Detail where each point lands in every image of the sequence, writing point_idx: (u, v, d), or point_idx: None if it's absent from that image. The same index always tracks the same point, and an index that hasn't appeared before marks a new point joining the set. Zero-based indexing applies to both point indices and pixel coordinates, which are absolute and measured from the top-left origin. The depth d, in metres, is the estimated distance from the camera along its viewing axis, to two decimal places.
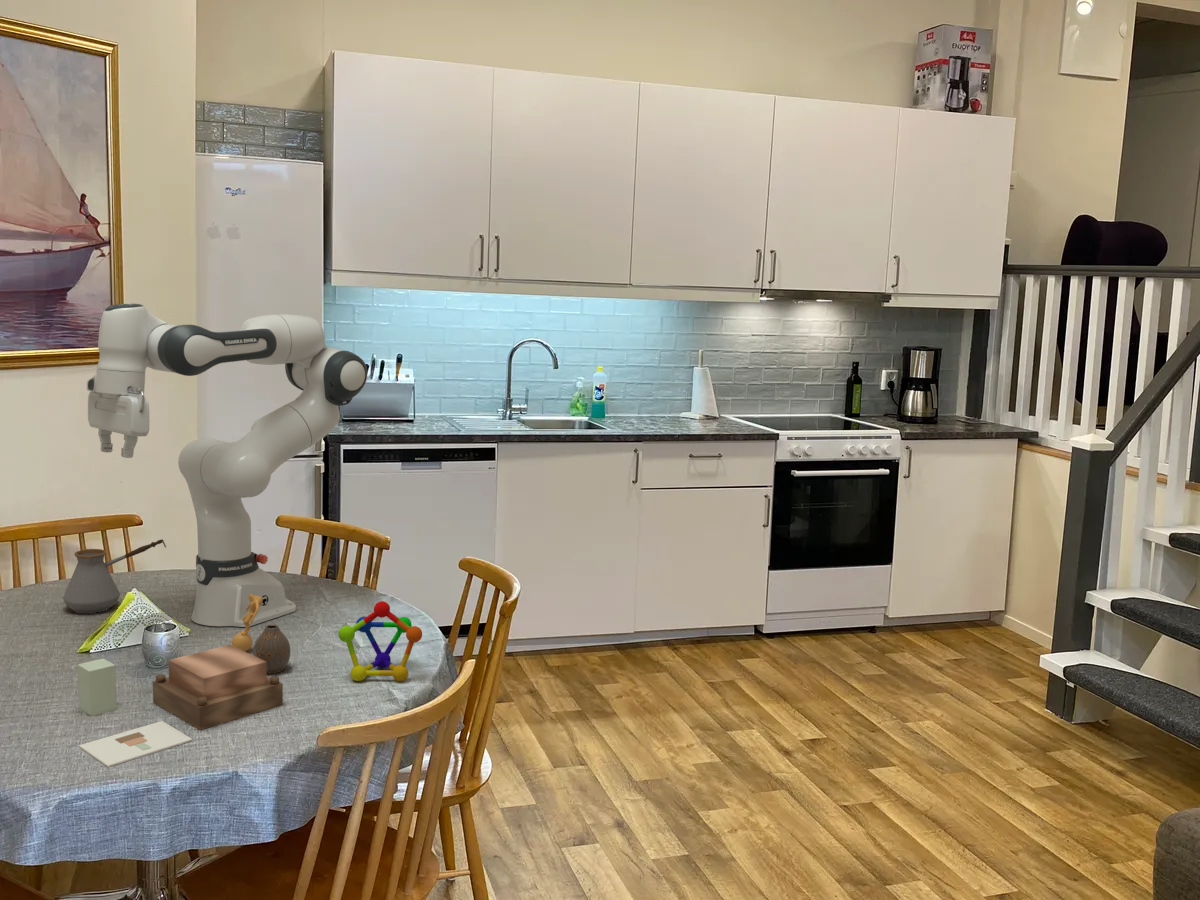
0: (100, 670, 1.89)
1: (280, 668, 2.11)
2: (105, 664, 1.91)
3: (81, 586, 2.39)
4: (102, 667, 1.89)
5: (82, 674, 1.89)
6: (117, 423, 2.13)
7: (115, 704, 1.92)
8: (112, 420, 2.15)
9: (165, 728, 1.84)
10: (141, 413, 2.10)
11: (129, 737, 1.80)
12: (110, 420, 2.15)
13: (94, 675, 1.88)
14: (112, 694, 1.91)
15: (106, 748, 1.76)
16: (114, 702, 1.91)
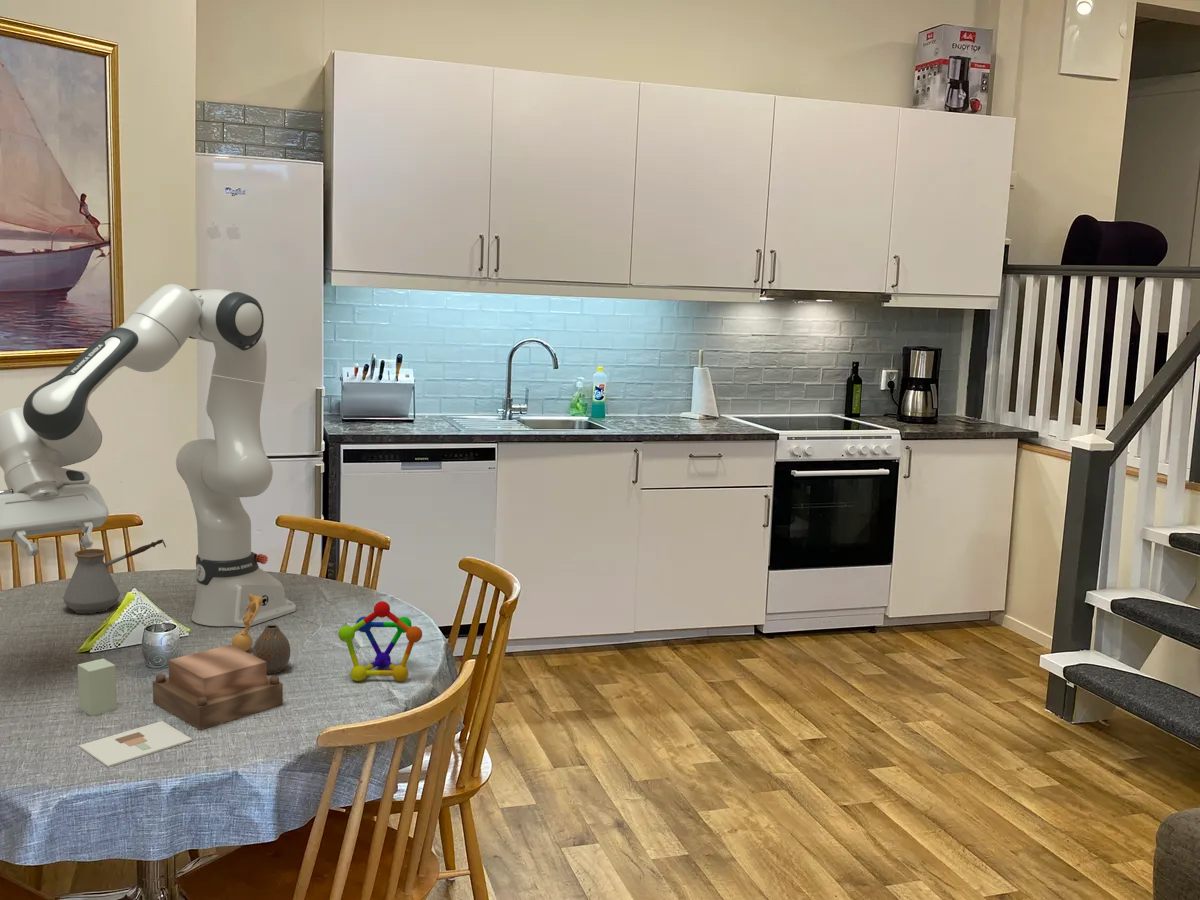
0: (100, 670, 1.89)
1: (280, 668, 2.11)
2: (105, 664, 1.91)
3: (81, 586, 2.39)
4: (102, 667, 1.89)
5: (82, 674, 1.89)
6: None
7: (115, 704, 1.92)
8: None
9: (165, 728, 1.84)
10: None
11: (129, 737, 1.80)
12: None
13: (94, 675, 1.88)
14: (112, 694, 1.91)
15: (106, 748, 1.76)
16: (114, 702, 1.91)
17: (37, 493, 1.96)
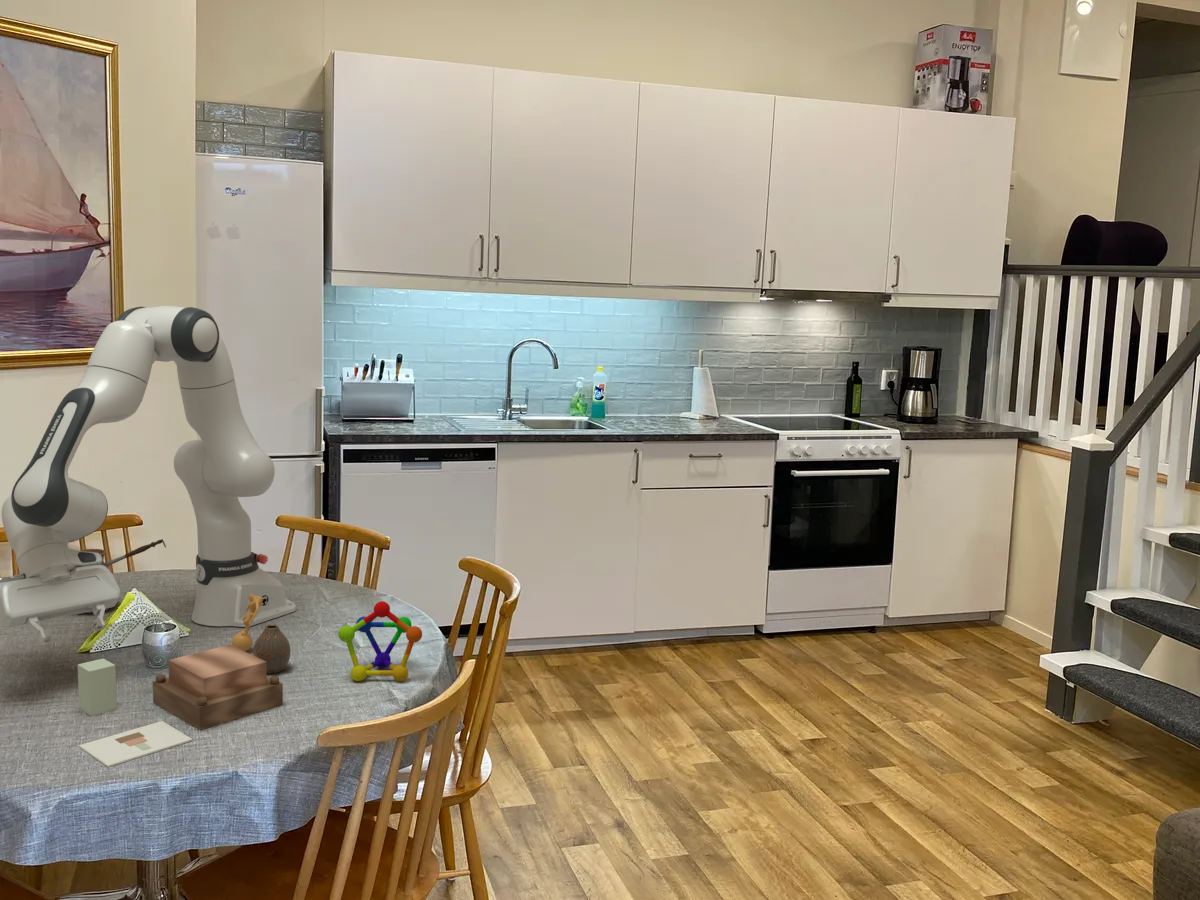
0: (100, 670, 1.89)
1: (280, 668, 2.11)
2: (105, 664, 1.91)
3: None
4: (102, 667, 1.89)
5: (82, 674, 1.89)
6: None
7: (115, 704, 1.92)
8: None
9: (165, 728, 1.84)
10: None
11: (129, 737, 1.80)
12: None
13: (94, 675, 1.88)
14: (112, 694, 1.91)
15: (106, 748, 1.76)
16: (114, 702, 1.91)
17: (49, 577, 1.96)
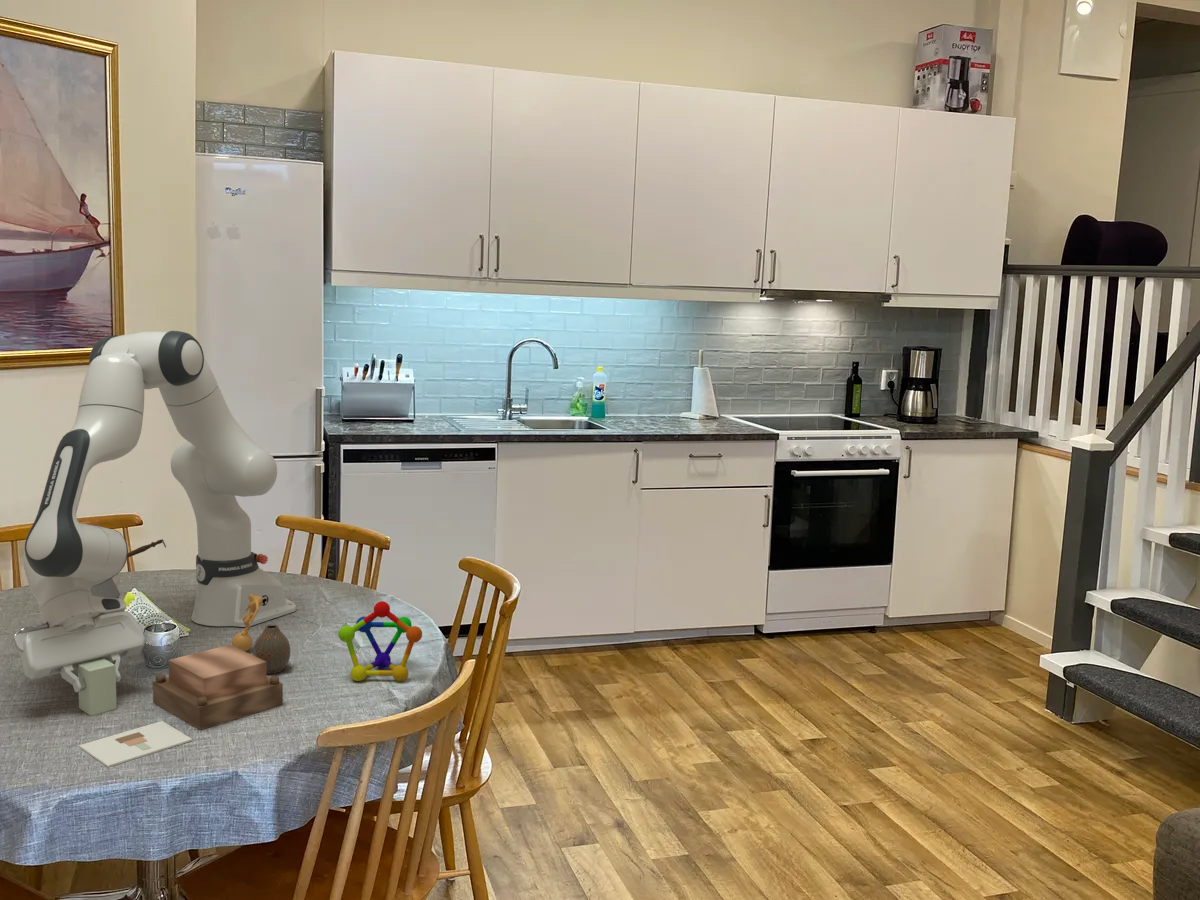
0: (100, 670, 1.89)
1: (280, 668, 2.11)
2: (105, 664, 1.91)
3: None
4: (102, 667, 1.89)
5: (82, 674, 1.89)
6: None
7: (116, 704, 1.92)
8: None
9: (165, 728, 1.84)
10: (22, 653, 1.86)
11: (129, 737, 1.80)
12: None
13: (94, 675, 1.88)
14: (112, 694, 1.91)
15: (106, 748, 1.76)
16: (114, 702, 1.91)
17: (73, 626, 1.91)
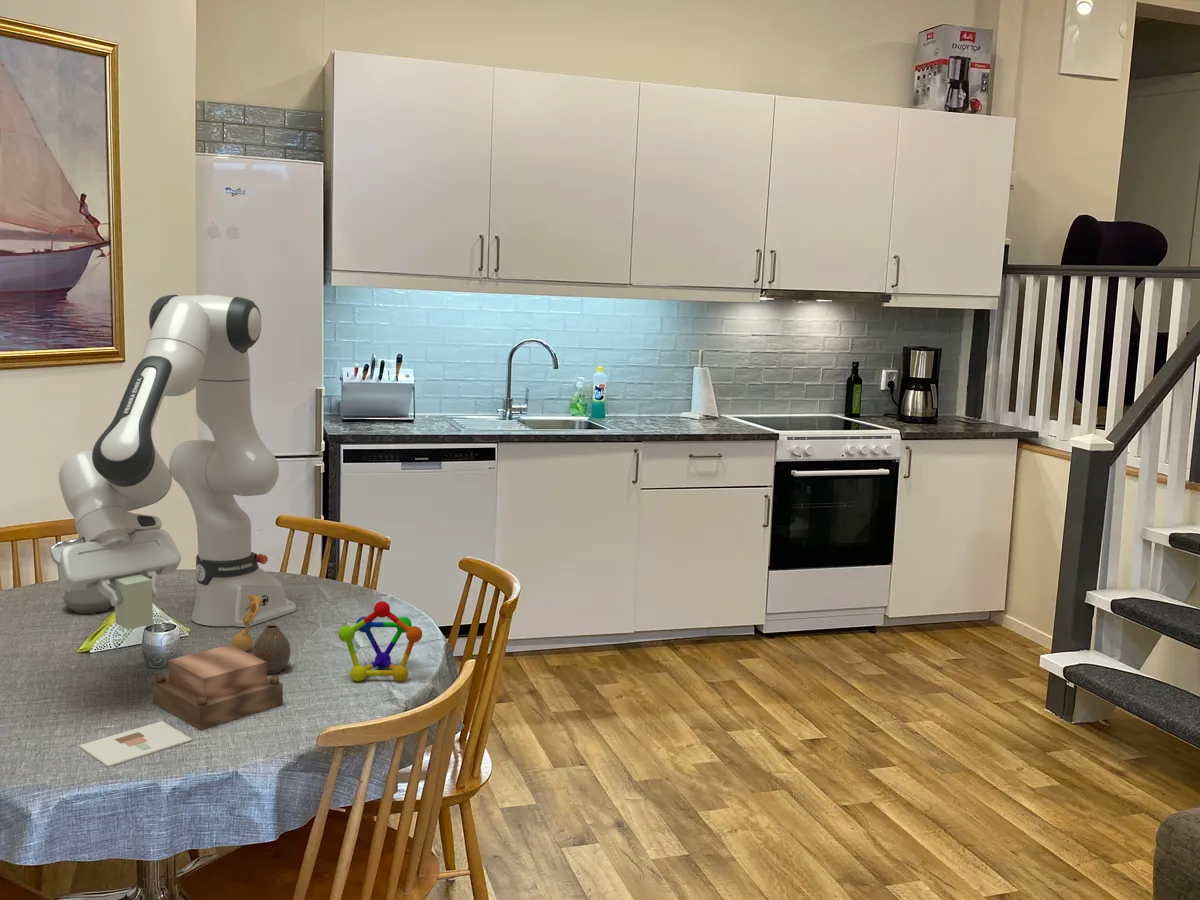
0: (136, 584, 1.88)
1: (280, 668, 2.11)
2: (141, 578, 1.90)
3: None
4: (138, 581, 1.88)
5: (118, 588, 1.88)
6: None
7: (152, 620, 1.91)
8: None
9: (165, 728, 1.84)
10: (59, 566, 1.85)
11: (129, 737, 1.80)
12: None
13: (131, 589, 1.87)
14: (148, 609, 1.90)
15: (106, 748, 1.76)
16: (150, 617, 1.90)
17: (109, 541, 1.90)
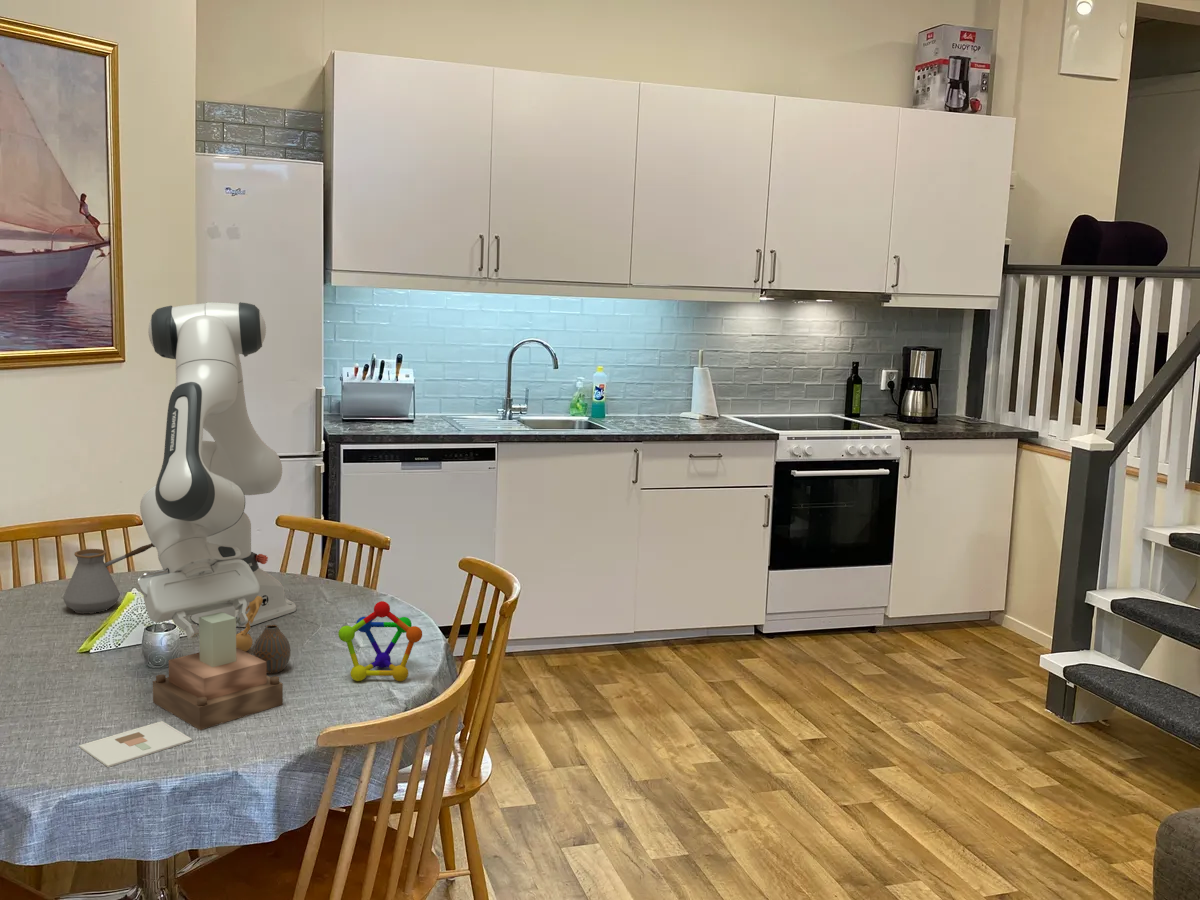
0: (222, 623, 1.91)
1: (280, 668, 2.11)
2: (225, 617, 1.94)
3: (81, 586, 2.39)
4: (223, 619, 1.92)
5: (204, 626, 1.92)
6: None
7: (235, 657, 1.94)
8: None
9: (165, 728, 1.84)
10: (146, 597, 1.89)
11: (129, 737, 1.80)
12: None
13: (217, 627, 1.91)
14: (232, 646, 1.94)
15: (106, 748, 1.76)
16: (234, 654, 1.94)
17: (193, 572, 1.94)
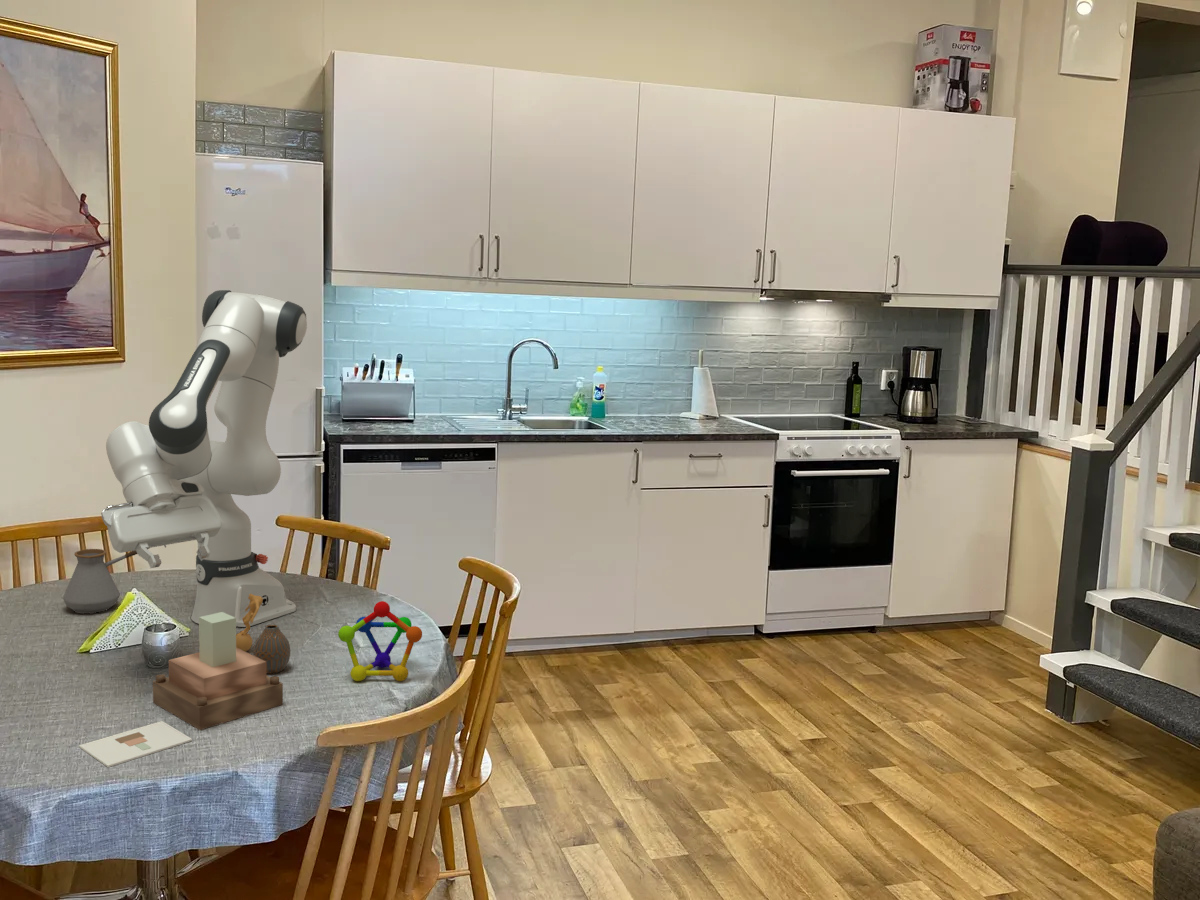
0: (222, 623, 1.91)
1: (280, 668, 2.11)
2: (225, 617, 1.94)
3: (81, 586, 2.39)
4: (223, 619, 1.92)
5: (204, 626, 1.92)
6: None
7: (235, 657, 1.94)
8: None
9: (165, 728, 1.84)
10: (110, 528, 1.96)
11: (129, 737, 1.80)
12: None
13: (217, 627, 1.91)
14: (232, 646, 1.94)
15: (106, 748, 1.76)
16: (234, 654, 1.94)
17: (156, 505, 2.01)
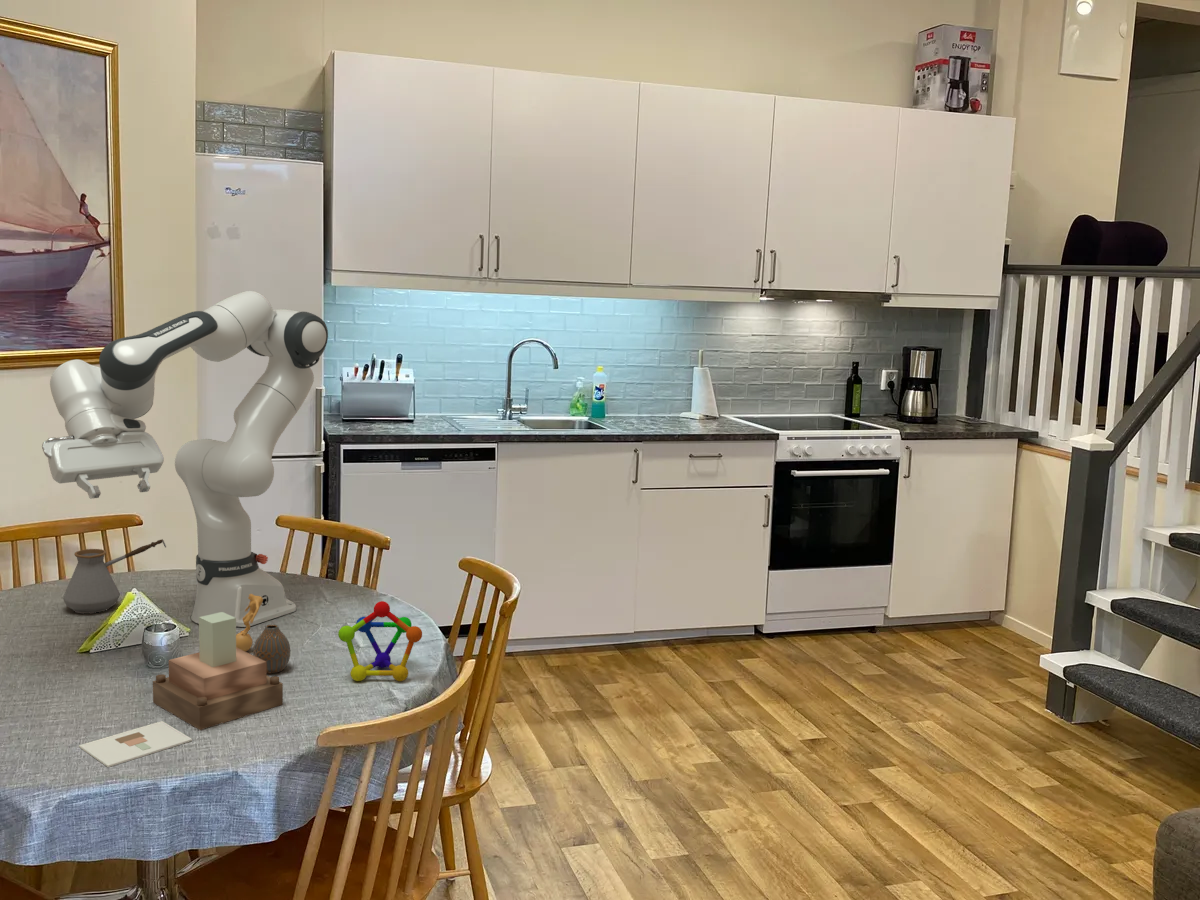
0: (222, 623, 1.91)
1: (280, 668, 2.11)
2: (225, 617, 1.94)
3: (81, 586, 2.39)
4: (223, 619, 1.92)
5: (204, 626, 1.92)
6: None
7: (235, 657, 1.94)
8: None
9: (165, 728, 1.84)
10: (50, 459, 2.00)
11: (129, 737, 1.80)
12: None
13: (217, 627, 1.91)
14: (232, 646, 1.94)
15: (106, 748, 1.76)
16: (234, 654, 1.94)
17: (97, 439, 2.05)
